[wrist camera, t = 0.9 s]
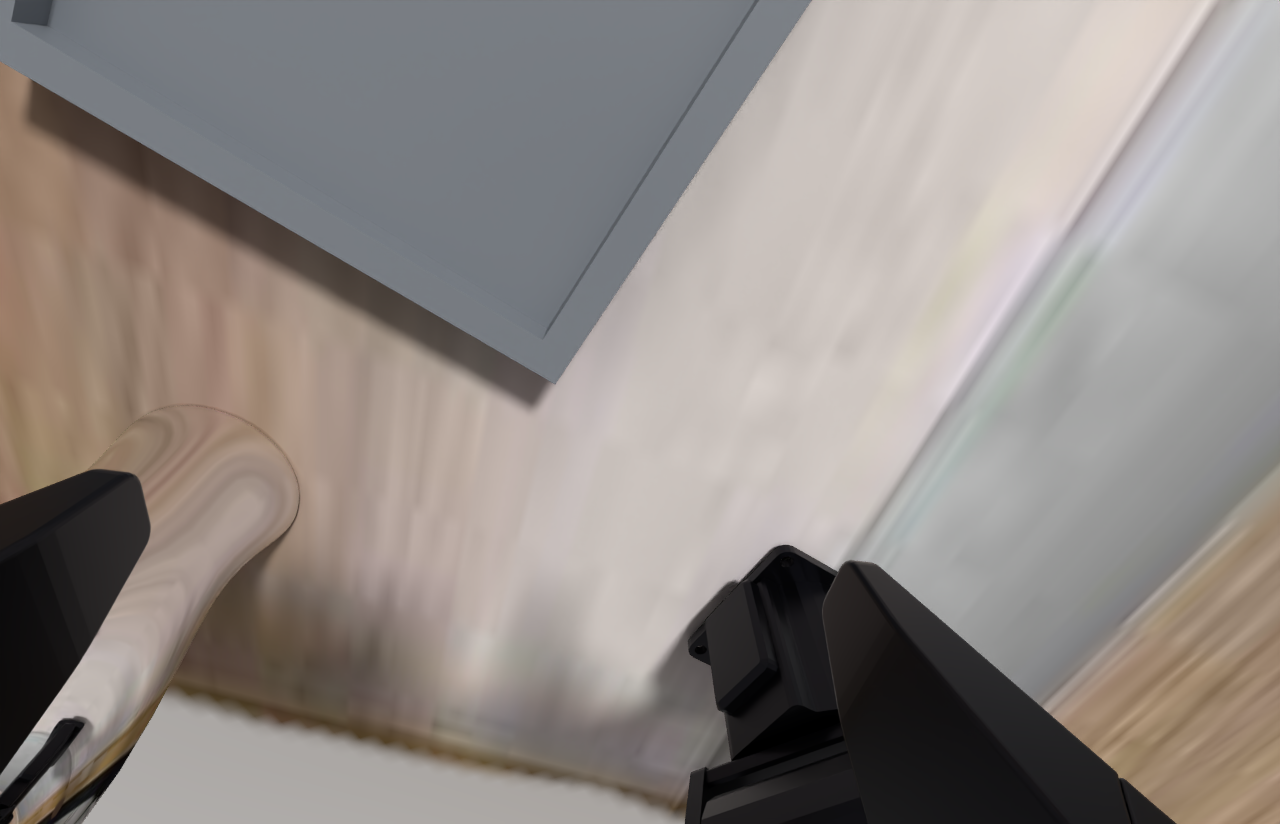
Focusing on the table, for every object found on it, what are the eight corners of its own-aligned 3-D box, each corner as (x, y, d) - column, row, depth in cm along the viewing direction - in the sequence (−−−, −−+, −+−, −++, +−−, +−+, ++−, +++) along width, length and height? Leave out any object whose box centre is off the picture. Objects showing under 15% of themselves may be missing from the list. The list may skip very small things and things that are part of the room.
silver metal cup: (64, 431, 22) (-839, 971, 8) (233, 363, 21) (-493, 857, 7) (197, 577, 25) (-314, 1148, 11) (350, 523, 24) (-14, 1084, 10)
